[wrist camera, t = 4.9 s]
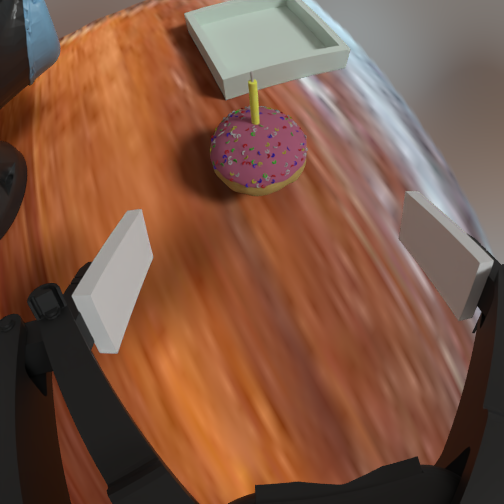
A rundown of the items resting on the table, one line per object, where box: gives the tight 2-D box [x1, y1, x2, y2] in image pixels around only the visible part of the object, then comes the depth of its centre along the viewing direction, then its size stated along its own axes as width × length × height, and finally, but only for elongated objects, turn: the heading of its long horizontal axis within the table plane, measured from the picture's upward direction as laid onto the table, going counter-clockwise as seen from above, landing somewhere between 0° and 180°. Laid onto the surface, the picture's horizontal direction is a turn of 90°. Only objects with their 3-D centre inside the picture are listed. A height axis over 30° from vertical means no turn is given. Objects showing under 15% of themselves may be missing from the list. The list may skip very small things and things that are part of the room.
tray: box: [184, 0, 351, 100], centre depth 34 cm, size 16×16×4 cm
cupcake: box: [210, 71, 308, 196], centre depth 26 cm, size 9×8×12 cm
